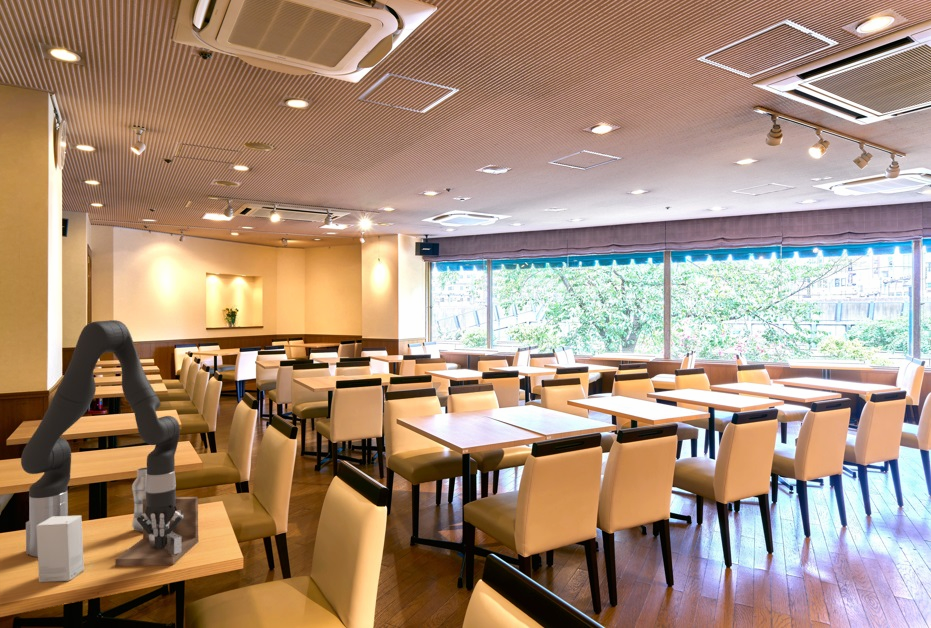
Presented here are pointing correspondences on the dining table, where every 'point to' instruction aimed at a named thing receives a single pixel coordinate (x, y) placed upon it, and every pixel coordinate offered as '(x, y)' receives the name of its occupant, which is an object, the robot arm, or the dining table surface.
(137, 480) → the plastic bottle
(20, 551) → the dining table surface
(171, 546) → the lever
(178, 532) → the stand
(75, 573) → the skincare box
